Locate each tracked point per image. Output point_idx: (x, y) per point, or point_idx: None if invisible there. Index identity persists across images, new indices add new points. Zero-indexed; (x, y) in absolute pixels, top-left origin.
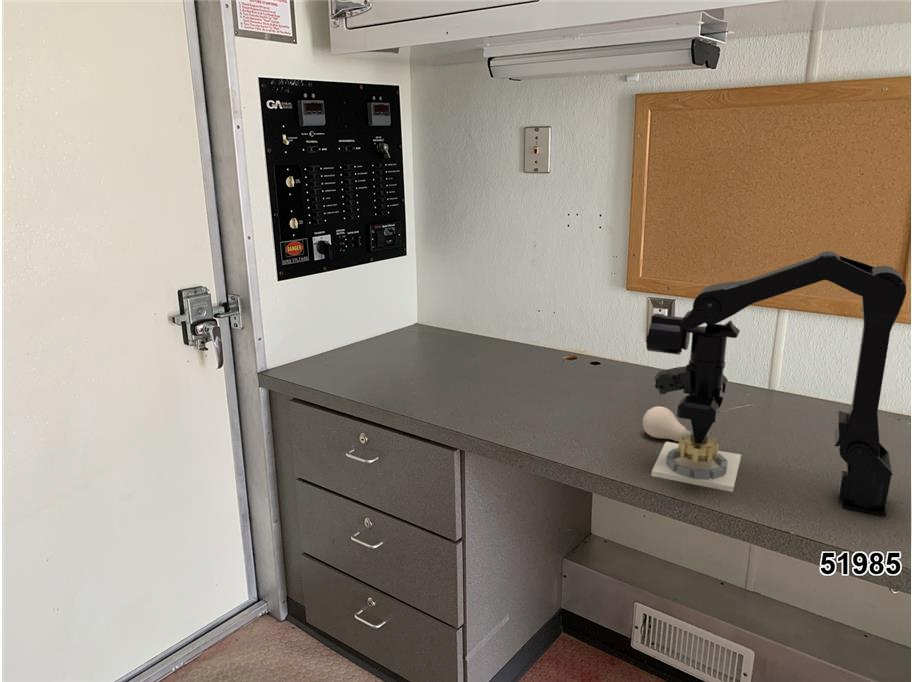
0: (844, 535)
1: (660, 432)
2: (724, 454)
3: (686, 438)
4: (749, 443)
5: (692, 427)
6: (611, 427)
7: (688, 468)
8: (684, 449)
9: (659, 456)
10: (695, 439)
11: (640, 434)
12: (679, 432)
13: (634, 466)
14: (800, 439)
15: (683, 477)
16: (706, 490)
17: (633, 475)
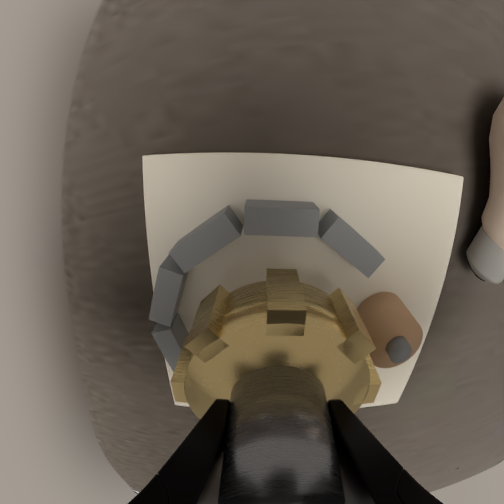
0: (140, 478)
1: (497, 155)
2: (394, 373)
3: (296, 346)
4: (475, 382)
5: (156, 474)
6: (494, 3)
7: (164, 312)
8: (190, 329)
9: (312, 159)
10: (206, 415)
11: (498, 85)
12: (500, 236)
13: (211, 70)
14: (476, 430)
15: (153, 282)
16: (147, 339)
17: (129, 92)
